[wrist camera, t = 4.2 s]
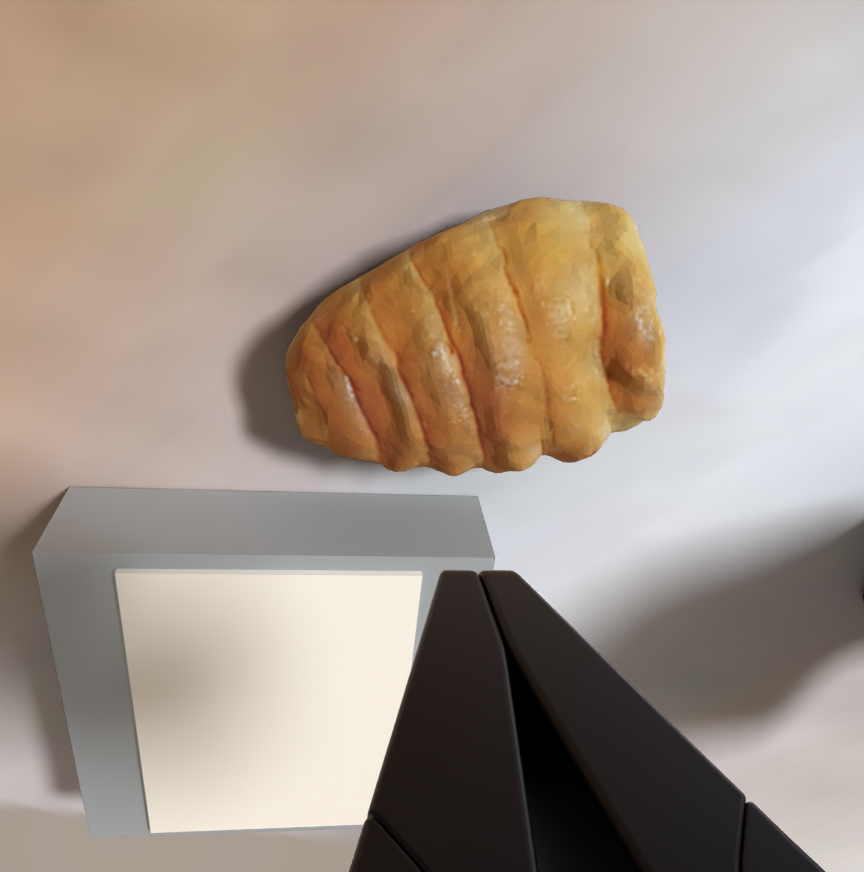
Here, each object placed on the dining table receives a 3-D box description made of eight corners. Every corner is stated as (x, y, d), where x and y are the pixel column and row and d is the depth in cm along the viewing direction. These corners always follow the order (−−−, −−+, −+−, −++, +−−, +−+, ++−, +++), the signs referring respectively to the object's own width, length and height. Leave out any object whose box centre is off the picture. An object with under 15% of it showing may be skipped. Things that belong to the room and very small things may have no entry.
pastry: (333, 475, 22) (330, 561, 19) (248, 262, 18) (226, 322, 15) (643, 394, 21) (695, 468, 18) (618, 159, 18) (678, 198, 15)
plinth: (477, 496, 23) (496, 562, 20) (437, 751, 29) (448, 829, 26) (69, 486, 21) (28, 557, 18) (114, 759, 27) (88, 845, 24)
